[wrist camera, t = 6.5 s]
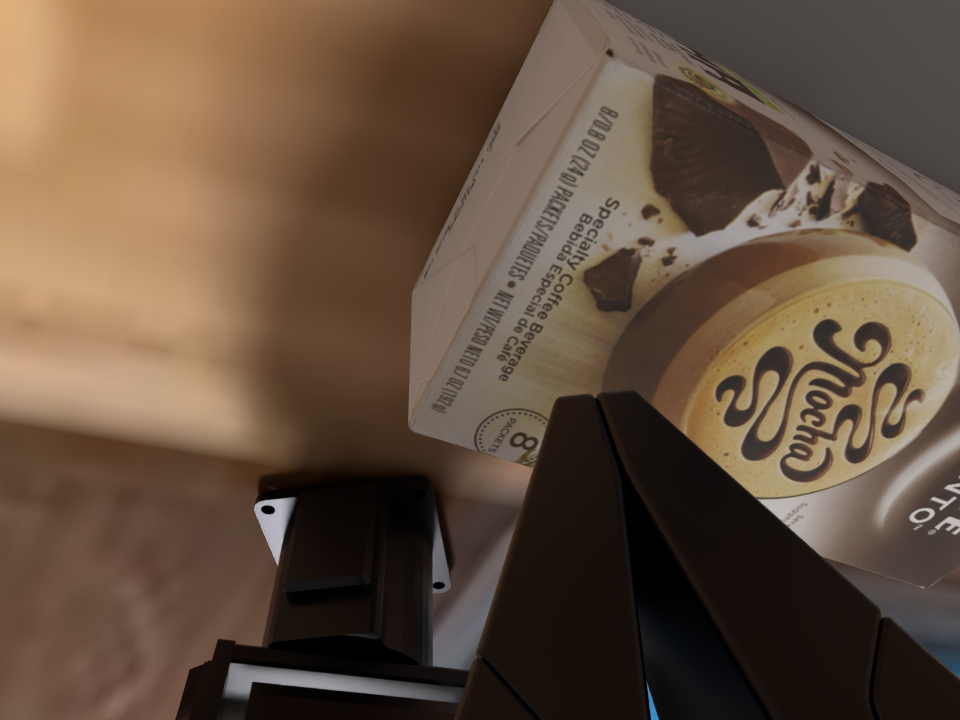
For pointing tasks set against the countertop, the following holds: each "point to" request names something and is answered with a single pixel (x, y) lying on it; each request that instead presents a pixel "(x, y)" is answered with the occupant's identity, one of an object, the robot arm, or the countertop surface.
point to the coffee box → (705, 289)
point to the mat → (841, 65)
